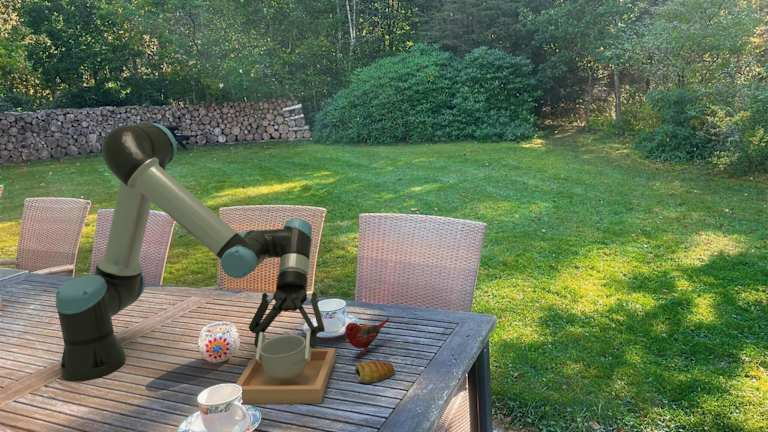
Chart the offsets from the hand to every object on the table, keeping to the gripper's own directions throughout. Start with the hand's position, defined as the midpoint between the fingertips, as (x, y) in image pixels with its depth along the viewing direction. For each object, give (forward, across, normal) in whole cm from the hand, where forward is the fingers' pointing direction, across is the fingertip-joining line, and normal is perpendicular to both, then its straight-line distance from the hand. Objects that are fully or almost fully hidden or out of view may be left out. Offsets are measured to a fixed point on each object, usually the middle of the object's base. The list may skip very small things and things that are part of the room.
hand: (283, 360), depth 133 cm
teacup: (+1, 0, -5) cm, 5 cm away
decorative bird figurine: (-8, -18, -18) cm, 27 cm away
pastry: (+2, -20, -9) cm, 22 cm away
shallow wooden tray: (+3, 0, -7) cm, 7 cm away
